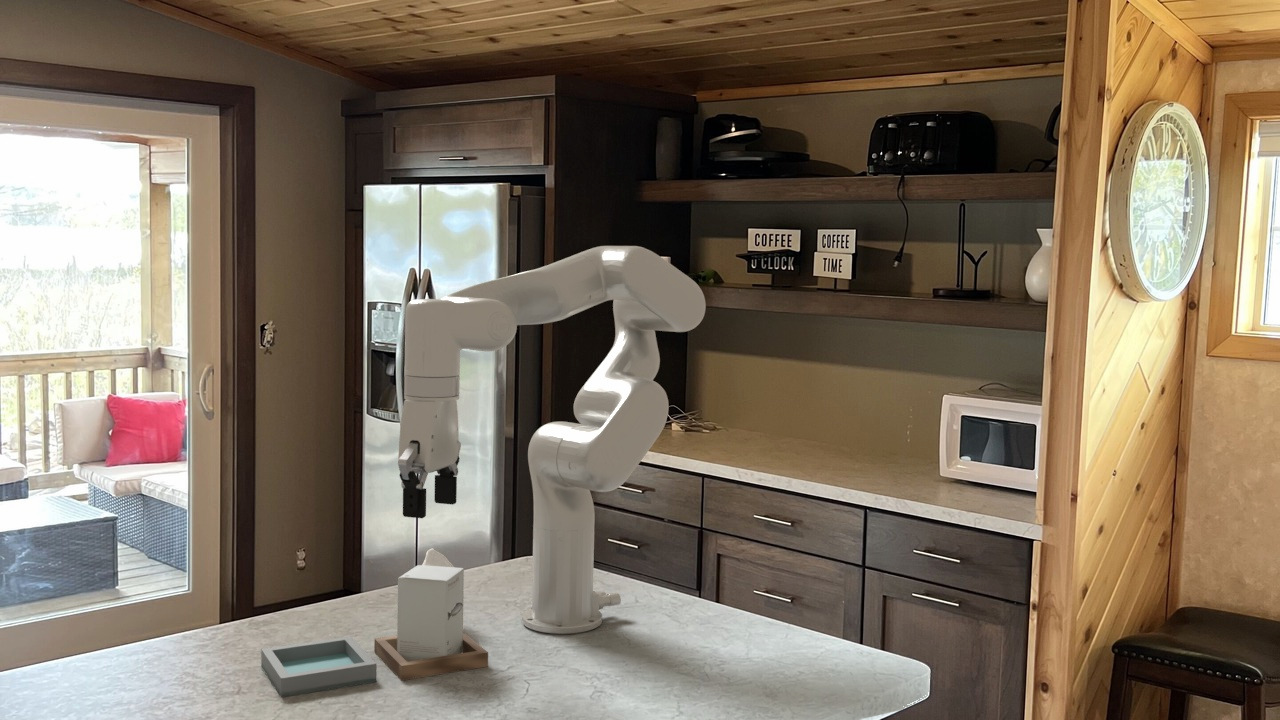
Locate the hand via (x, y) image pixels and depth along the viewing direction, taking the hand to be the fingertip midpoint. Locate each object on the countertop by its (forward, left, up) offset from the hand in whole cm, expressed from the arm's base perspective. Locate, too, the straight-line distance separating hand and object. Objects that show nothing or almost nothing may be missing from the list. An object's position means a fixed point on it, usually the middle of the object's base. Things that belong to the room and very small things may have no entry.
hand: (430, 510), depth 158 cm
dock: (+15, -1, -21) cm, 26 cm away
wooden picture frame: (0, 0, -21) cm, 21 cm away
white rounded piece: (-6, -15, -22) cm, 27 cm away
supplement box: (0, 0, -22) cm, 22 cm away
